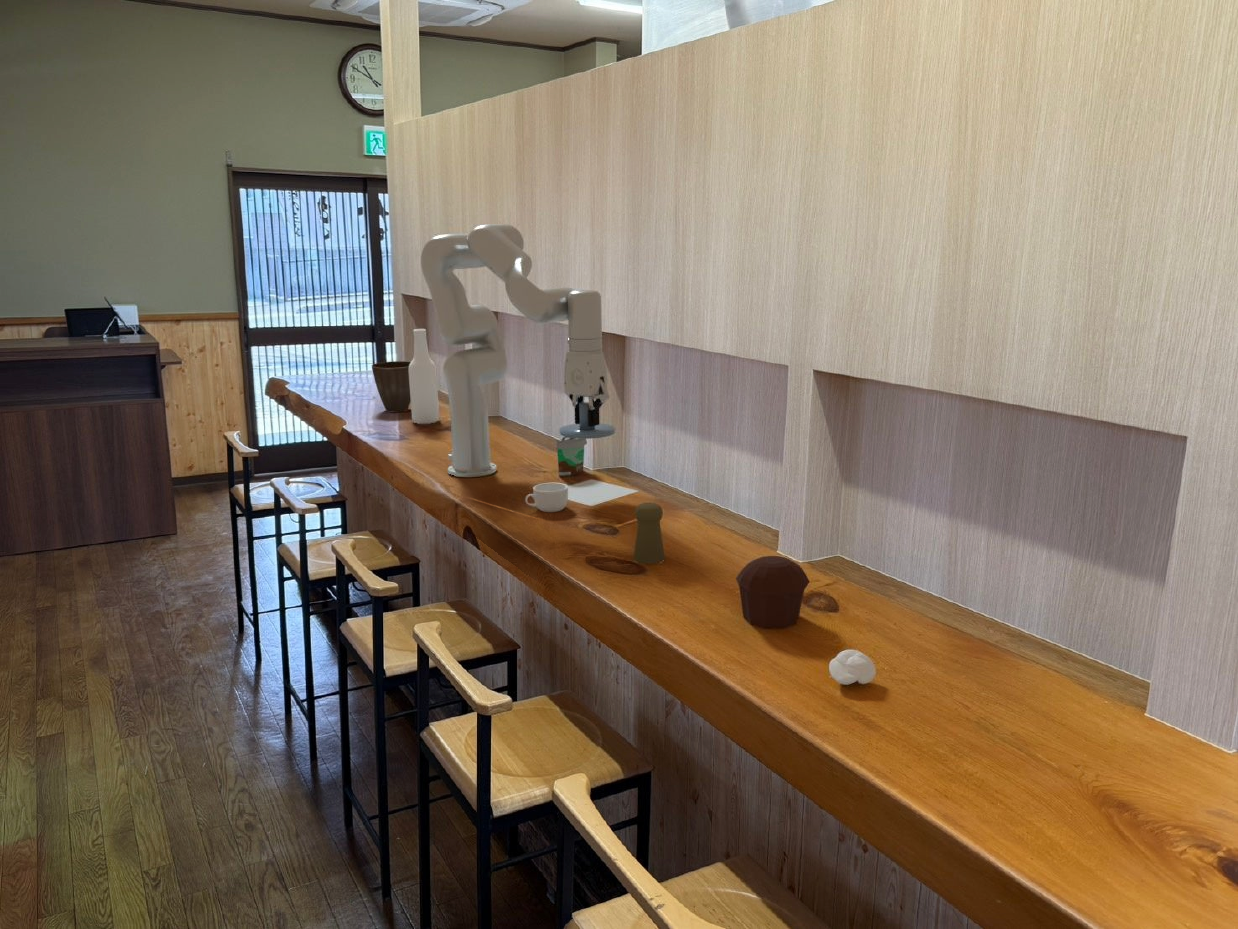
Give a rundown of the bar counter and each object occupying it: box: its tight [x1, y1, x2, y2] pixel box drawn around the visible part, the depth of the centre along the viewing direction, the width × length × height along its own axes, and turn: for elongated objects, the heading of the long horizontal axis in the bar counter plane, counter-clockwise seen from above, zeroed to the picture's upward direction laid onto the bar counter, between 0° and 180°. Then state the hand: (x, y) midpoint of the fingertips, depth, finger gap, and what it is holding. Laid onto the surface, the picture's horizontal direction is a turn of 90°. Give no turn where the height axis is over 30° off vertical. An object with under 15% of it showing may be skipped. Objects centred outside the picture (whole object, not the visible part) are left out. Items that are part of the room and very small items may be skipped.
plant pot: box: [371, 360, 411, 412], centre depth 325 cm, size 15×15×16 cm
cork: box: [633, 502, 666, 565], centre depth 179 cm, size 6×6×11 cm
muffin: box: [735, 555, 810, 630], centre depth 152 cm, size 12×11×10 cm
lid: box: [558, 401, 616, 440], centre depth 219 cm, size 13×13×7 cm
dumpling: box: [828, 649, 877, 686], centre depth 131 cm, size 7×5×4 cm
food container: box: [556, 436, 588, 478], centre depth 240 cm, size 12×6×10 cm, turn 168°
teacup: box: [524, 482, 569, 513], centre depth 211 cm, size 10×8×5 cm
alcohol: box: [408, 328, 440, 425], centre depth 303 cm, size 9×9×30 cm
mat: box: [568, 478, 640, 507], centre depth 224 cm, size 16×16×1 cm
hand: (587, 423), depth 219 cm, fingers closed on lid, 3 cm apart
